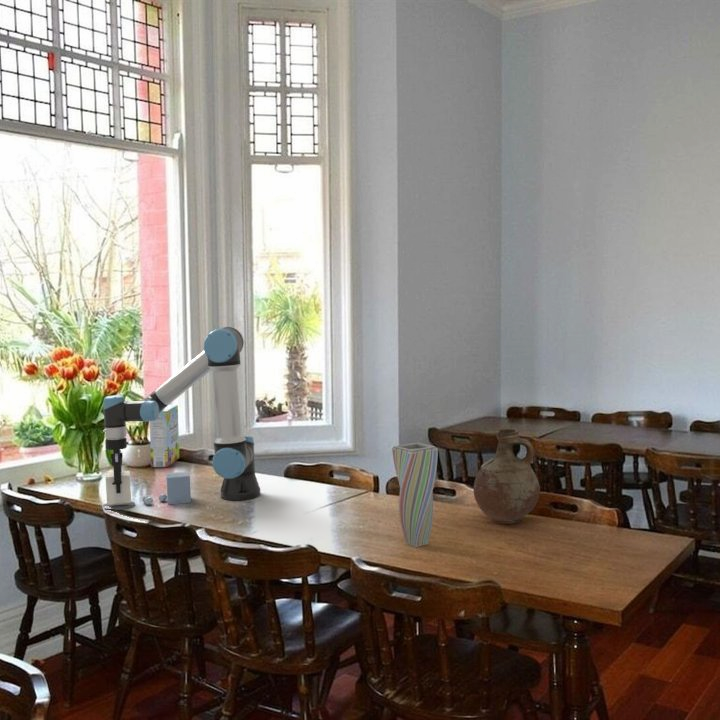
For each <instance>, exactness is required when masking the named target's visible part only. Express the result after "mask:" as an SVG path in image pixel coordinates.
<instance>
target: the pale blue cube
mask: <svg viewBox="0 0 720 720" xmlns="http://www.w3.org/2000/svg"><path fill="white" fill-rule="evenodd" d="M165 482H166V483H165V484H166V496H167V499H166V501H167V505H179V504H188V503H189V504H190V502H191V503H192V496H191V495H192V494H191V491H192V490H191V477H190V471H179V472H177V471H176V472H168V473H167V472H166V473H165Z"/></svg>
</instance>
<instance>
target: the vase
mask: <svg viewBox="0 0 720 720" xmlns="http://www.w3.org/2000/svg"><path fill="white" fill-rule="evenodd" d="M391 452H392V453H391V454H392V459H393V464H394V469H395V474H396V479H397V481H398V485H399V497H398V516H399V523H400V526H401V530H402V533H403V534H402V535H403V537H404V541H405V542H404V543H405V544H406V545H409V546H412V547H414V548H417V547H422V546H425V545H429V541H430V540H429V539H430V536H431V530H432V525H433V518H434V496H433V495H434V494H433V489H434V486H435V481H436V477H437V476H436V474H437V466H438V458H439V457H438V452H439V448H438V447H437V446H435V445H432V444H431V445H430V444H427V443H426V444H425V443H422V442H412V443H411V442H410V443H405V444H400V445H399V444H398V445H394V446H392V447H391Z"/></svg>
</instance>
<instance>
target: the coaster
mask: <svg viewBox="0 0 720 720" xmlns="http://www.w3.org/2000/svg"><path fill="white" fill-rule="evenodd" d="M104 506H109V507H111V508H113V509H116V510H115V511H121V510H122V511H123V510H127V509H132V508H133V507H135V506H136V503H135V501H132V500H131V502H130V503H119V504H108V505H107V503H106V504H104V505H103V507H104Z"/></svg>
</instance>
